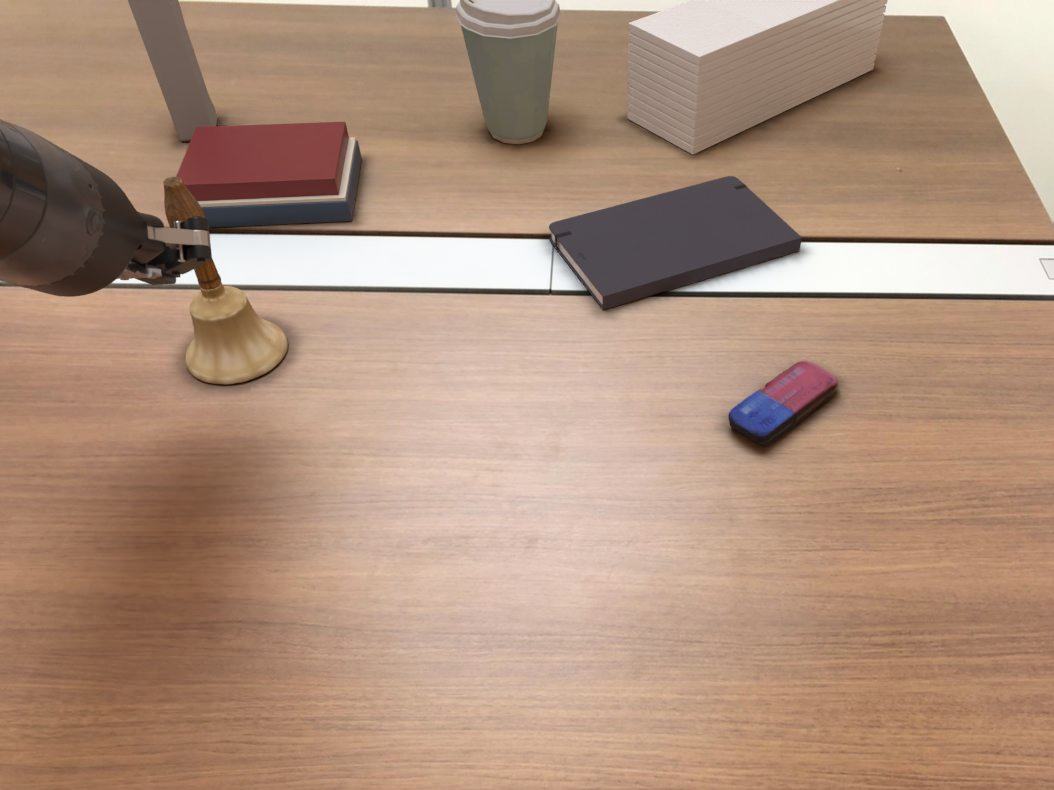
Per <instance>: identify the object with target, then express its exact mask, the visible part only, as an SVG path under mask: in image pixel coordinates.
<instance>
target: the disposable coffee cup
mask: <svg viewBox="0 0 1054 790" xmlns="http://www.w3.org/2000/svg"><path fill="white" fill-rule="evenodd" d="M560 7H561V6H560V4H559V3H558V2H557V0H459V1H458V3H457V4H456V6H455V18H456V20H457V21H458V23H459V24H460V27H461V32H462V35H463V39H464V43H465V44H464V45H465V48H466V52H467V56H468V60H469V64H470V68H471V71H472V76H473V80H474V84H475V88H476V93H477V96H478V101H479V104H480V108H481V112H482V116H483V120H484V124H485V126H486V128H487V129H488V132H489V133H490V135H491V137H492V139H494V140H497V141H499V142H500V143H503V144H511V145H522V144H528V143H533V142H534V141H536V140H537V139H539V138H541V137H542V136H543V133H544V131H545V128H546V126H547V123H548V114H549V106H550V97H551V88H552V79H553V78H552V77H553V69H554V62H555V52H556V42H557V34H558V25H559V19H560V18H561V15H562V13H561V9H560Z"/></svg>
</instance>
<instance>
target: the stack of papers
mask: <svg viewBox="0 0 1054 790" xmlns="http://www.w3.org/2000/svg"><path fill="white" fill-rule="evenodd" d="M887 4H888V0H688V1H685V2H682V3H680V4H677V5H674V6H672V7H669V8H665V9H664V10H659V11H658V12H655V13H653V14H649V15H646V16H644V17H641V18H639V19H636V20H633V21H631V22H628V29H627V30H628V32H629V33H628V39H627V40H628V43H627V45H628V46H627V47H628V48H627V50H628V52H627V58H628V60H627V67H628V69H627V76H628V77H627V85H628V86H627V93H628V94H627V102H628V103H627V119H628V120H629V121H630V122H633V123H634V124H637V125H638V126H640V127H642V128H643V129H645V130H647V131H649V132H651V133H653V134H654V135H656V136H658V137H660V138H662V139H664V140H666V141H667V142H669V143H671V144H672V145H675V146H676V147H678V148H680V149H682V151H685V152H687V153H689V154H691V155H695V154H698V153H700V152H702V151H704V150H706V149H708V148H710V147H712V146H715V145H716V144H719V143H722V142H723V141H725V140H727V139H729V138H731V137H733V136H735V135H737V134H739V133H742V132H744V131H746V130H748V129H750V128H753V127H755V126H756V125H759V124H761V123H763V122H765V121H767V120H769V119H772V118H774V117H775V116H777V115H780V114H782V113H785V112H786V111H788V110H791V109H793V108H795V107H796V106H799V105H802V104H804V103H805V102H807V101H810V100H812V99H814V98H816V97H818V96H820V95H822V94H824V93H826V92H828V91H831V90H833V89H835V88H837V87H840V86H841V85H843V84H846V83H848V82H850V81H852V80H854V79H856V78H858V77H860V76H862V75H865V74H867V73H868V72H871V71H874V68H875V61H876V58H877V53H878V48H879V47H878V46H879V43H880V38H881V34H882V29H883V25H884V22H883V21H884V19H885V14H884V13H886V10H887Z"/></svg>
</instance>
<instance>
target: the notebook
mask: <svg viewBox="0 0 1054 790" xmlns="http://www.w3.org/2000/svg"><path fill="white" fill-rule="evenodd" d="M548 229H549V231H550V232H551V235H550V236H549V241H550V243H551V245H552V246H553V247H554V248H555V250H556V251H557V253H558V254H559V255H560V256H561V258H562V259H563V260H564V261H565V262H566V264H567V265H568V267H569V268H570V269H571V270H572V272H573V273H574V274H575V276H576V277H577V278H578V280H579V281H580V282H581V284H582V285H583V286H584V287H585V289H586V290H587V291H588V292H589V294H590V295H591V296H592V298H593V299H594V300H595V301H596V303H597V304H598V305H599V306H600V308H601V309H602V310H603V311H604V310H607V309H611V308H614V307H618V306H622V305H624V304H628V303H631V302H634V301H638V300H641V299H644V298H648V297H651V296H654V295H657V294H661V293H664V292H667V291H671V290H674V289H677V288H682V287H684V286H688V285H690V284H694V283H697V282H700V281H704V280H707V279H710V278H714V277H717V276H721V275H725V274H727V273H730V272H731V273H732V272H733V271H737V270H740V269H745V268H747V267H751V266H754V265H757V264H760V263H763V262H764V263H765V262H767V261H770V260H774V259H777V258H780V257H783V256H786V255H790V254H793V253H797V252H799V251H801V245H802V240H803V237H802V236H801V235H800V234H799V233H798V232H797V231H796V230H795V229H793V228H792V226H790V225H789V224H788V223H787V222H786V221H785V220H784V219H783V218H782V217H780V216H779V215H778V214H777V213H776V212H775V211H774V210H773V209H772V208H771V207H770V206H769V205H767V204H766V203H765V202H764V201H763V200H762V199H761V198H760V197H759V196H758V195H757V194H755V193H754V191H752V190H751V189H750V188H749V187H748V186H747V185H746V183H744V182H743V181H742V180H741V179H739V178H738V177H736V176H734V175H728V176H723V177H718V178H715V179H712V180H708V181H704V182H700V183H696V184H693V185H688V186H684V187H681V188H677V189H674V190H670V191H666V192H662V193H659V194H658V193H657V194H655V195H651V196H647V197H643V198H640V199H635V200H632V201H628V202H624V203H621V204H617V205H613V206H609V207H606V208H602V209H598V210H594V211H590V212H586V213H582V214H579V215H574V216H571V217H567V218H564V219H559V220H555V221H554V222H551V223H549V225H548Z"/></svg>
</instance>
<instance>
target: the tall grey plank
mask: <svg viewBox="0 0 1054 790" xmlns="http://www.w3.org/2000/svg"><path fill="white" fill-rule="evenodd" d="M127 2H128V5H129V8H130V10H131V13H132V15H133V19H134V21H135V23H136V27H137V29H138V32H139V34H140V37H141V40H142V42H143V45H144V48H145V51H146V53H147V56H148V59H149V61H150V63H151V67H152V69H153V72H154V74H155V75H154V76H155V77H156V81H157V84H158V86H159V88H160V91H161V93H162V96H163V99H164V101H165V102H164V103H165V104H166V106H167V110H168V112H169V115H170V117H171V120H172V123H173V126H174V129H175V131H176V134H177V137H178V139H179V140H180V141H181V142H183V143H184V142H190V141H191V138H192V136H193V134H194V131H195V129H196V127H212V126H218V125H217V124H218V113H217V110H216V107H215V105H214V103H213V100H212V99H211V97H210V95H209V91H208V89H207V85H206V83H205V79H204V77H203V74H202V71H201V67H200V65H199V61H198V59H197V55H196V53H195V50H194V47H193V43H192V40H191V38H190V34H189V31H188V29H187V26H186V23H185V19H184V14H183V11H182V7H181V5H180V1H179V0H127Z"/></svg>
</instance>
